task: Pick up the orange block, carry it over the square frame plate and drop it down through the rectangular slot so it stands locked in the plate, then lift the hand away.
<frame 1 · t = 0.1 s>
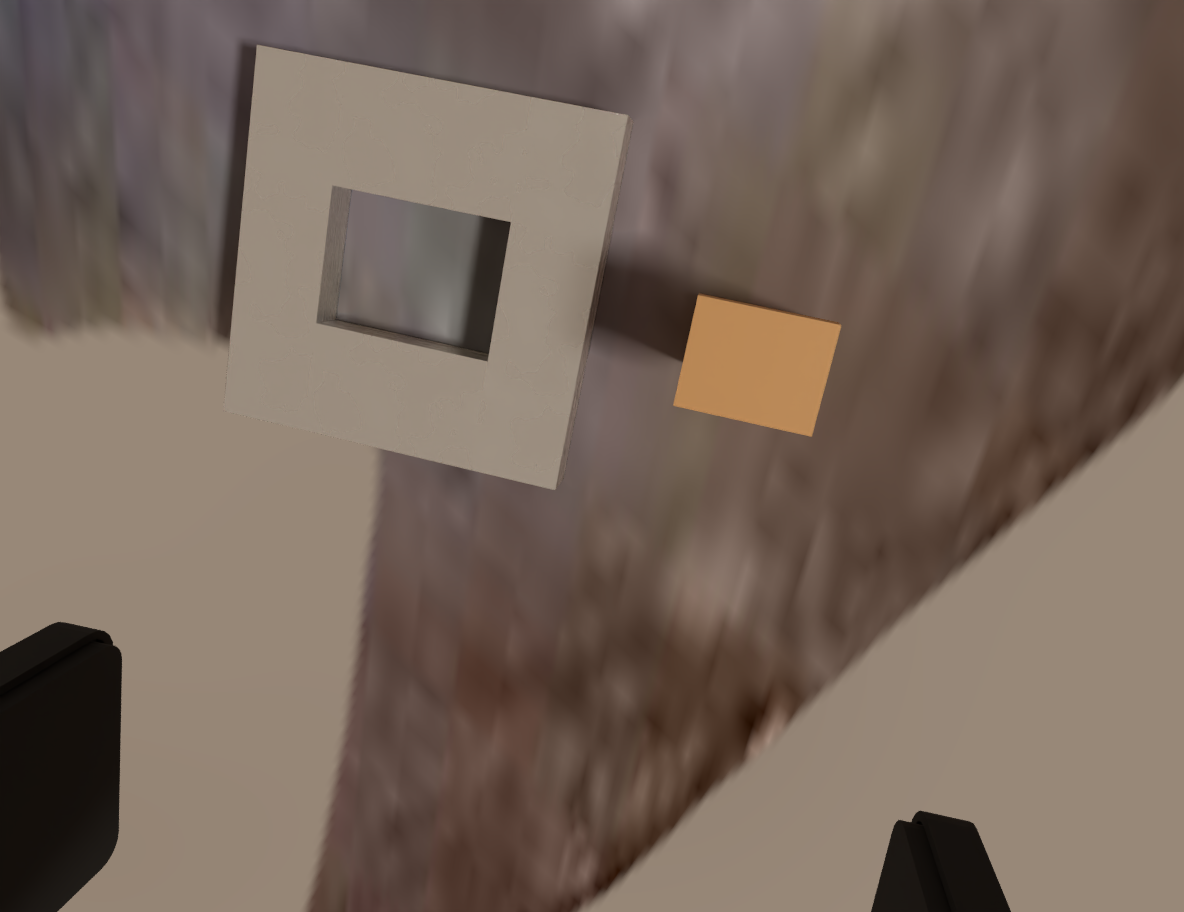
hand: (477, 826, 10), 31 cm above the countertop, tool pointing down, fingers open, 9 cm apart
square frame plate: (426, 272, 41), on the countertop
orange block: (752, 342, 39), on the countertop
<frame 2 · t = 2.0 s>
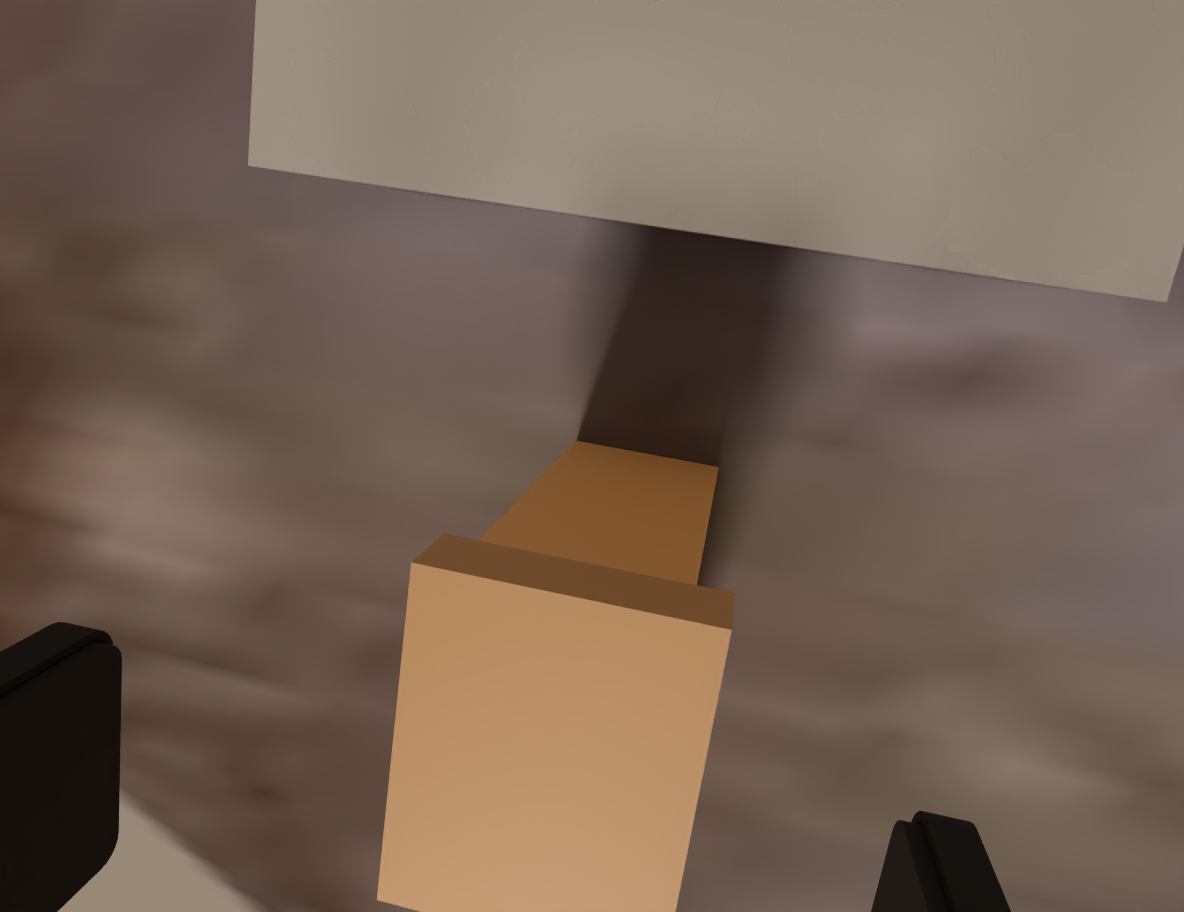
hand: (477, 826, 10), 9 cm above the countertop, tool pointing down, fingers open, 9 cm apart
orange block: (628, 565, 19), on the countertop
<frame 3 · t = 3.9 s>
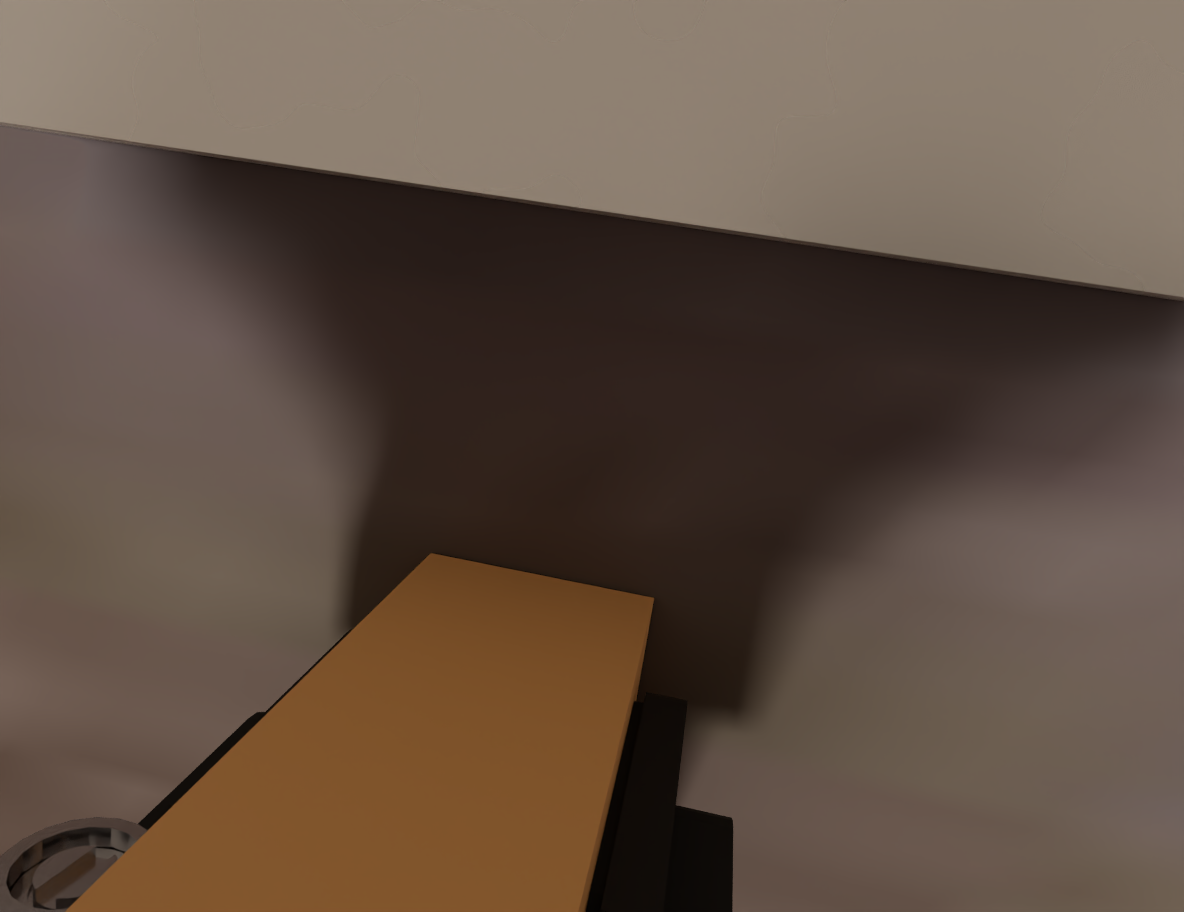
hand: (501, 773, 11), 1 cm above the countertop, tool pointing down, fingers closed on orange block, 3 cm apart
orange block: (516, 744, 12), on the countertop, touching gripper
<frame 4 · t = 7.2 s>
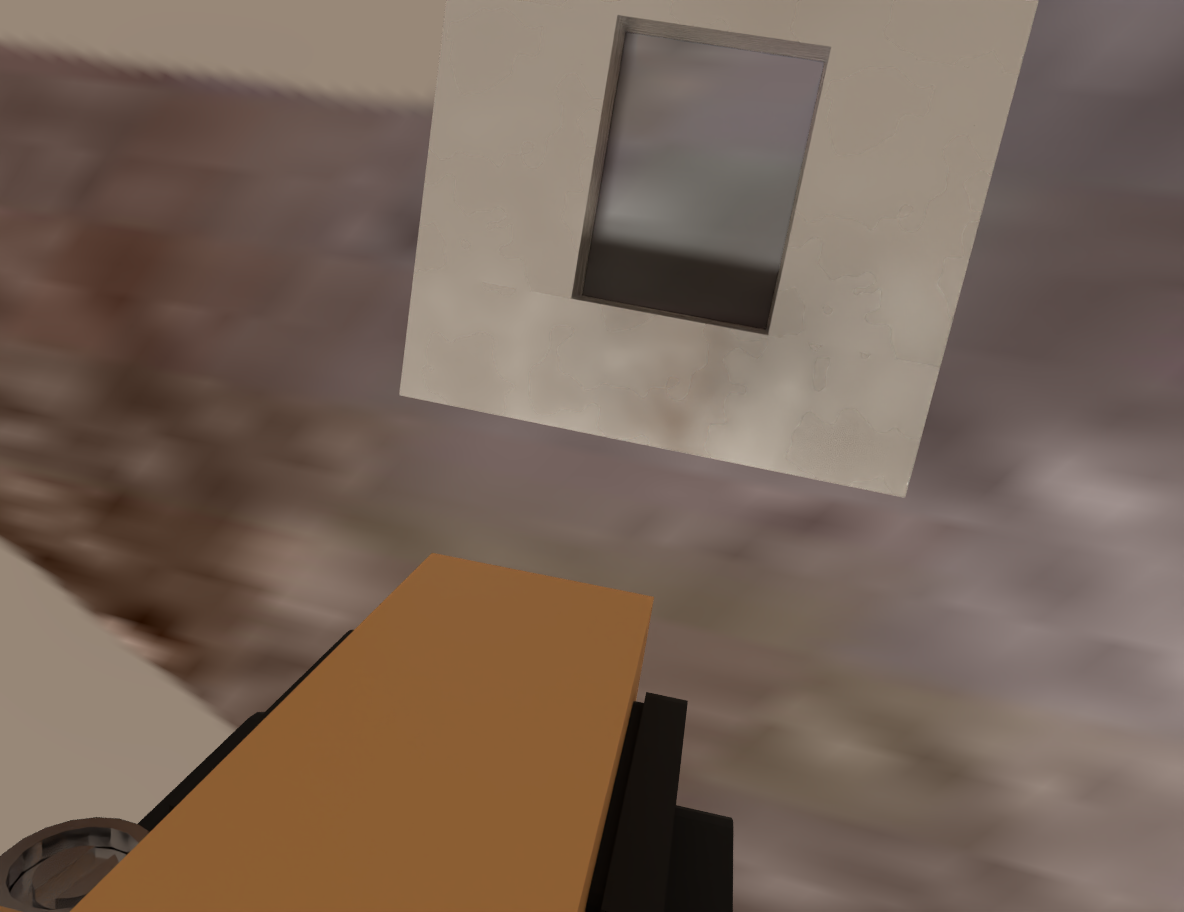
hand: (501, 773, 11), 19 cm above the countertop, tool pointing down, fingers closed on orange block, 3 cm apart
square frame plate: (697, 184, 28), on the countertop
orange block: (517, 742, 12), point 18 cm above the countertop, touching gripper
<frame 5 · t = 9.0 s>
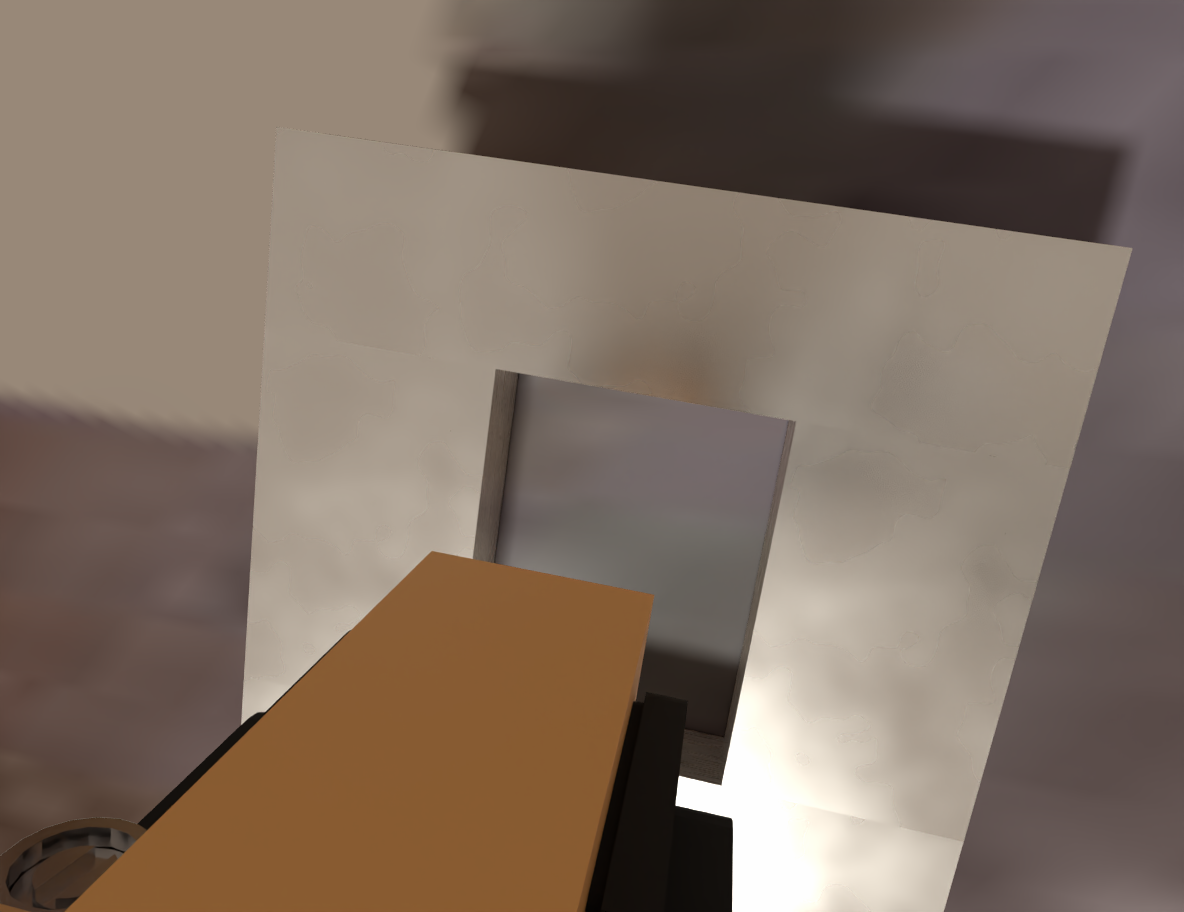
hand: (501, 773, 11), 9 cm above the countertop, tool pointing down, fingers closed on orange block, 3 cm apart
square frame plate: (625, 552, 20), on the countertop
orange block: (517, 740, 12), point 8 cm above the countertop, touching gripper
when the fingers open (2 cm above the countertop, at t = 10.6 s): orange block drops 1 cm, resting in square frame plate.
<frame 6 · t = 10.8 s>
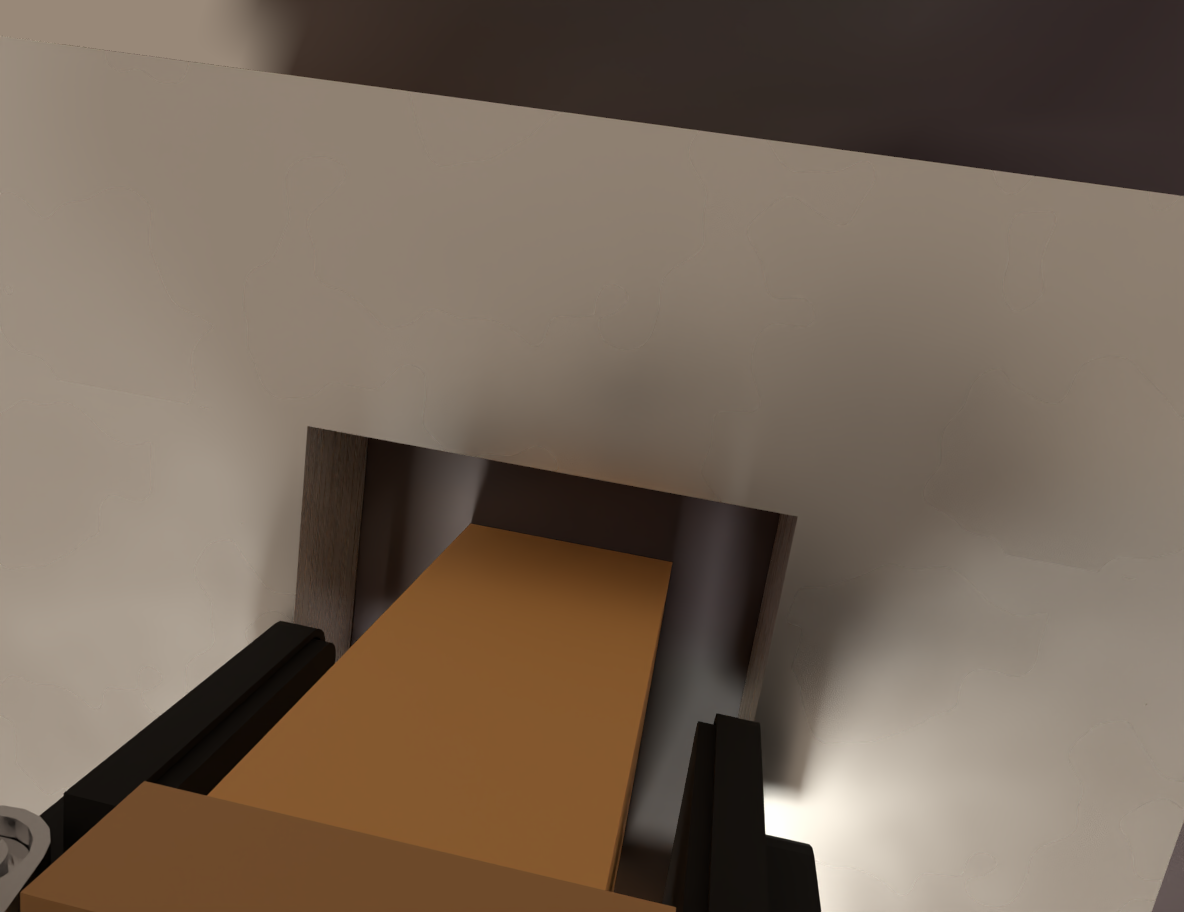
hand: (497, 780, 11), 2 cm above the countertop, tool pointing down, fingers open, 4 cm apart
square frame plate: (537, 691, 14), on the countertop
orange block: (547, 696, 14), resting in square frame plate
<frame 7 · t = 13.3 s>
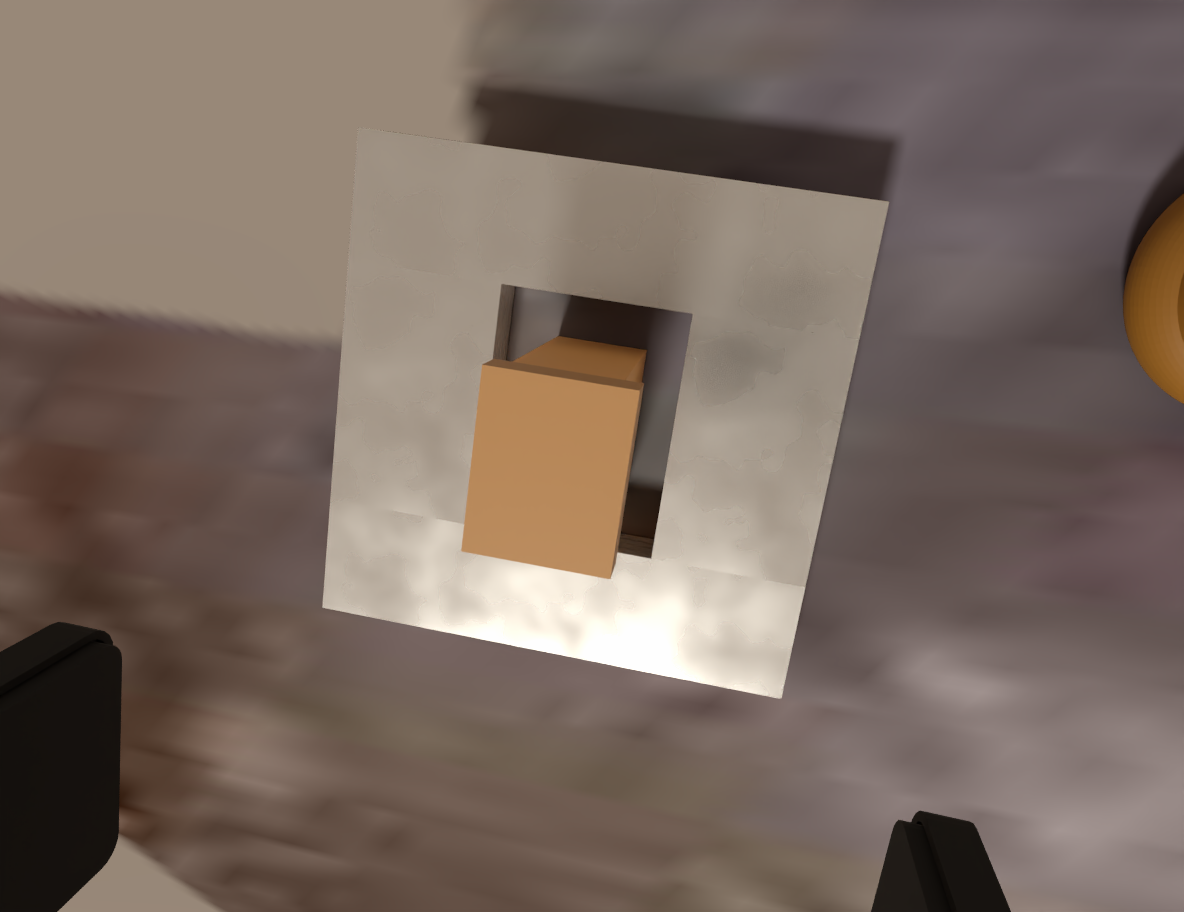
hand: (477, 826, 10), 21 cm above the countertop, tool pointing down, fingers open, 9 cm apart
square frame plate: (587, 413, 30), on the countertop
orange block: (591, 415, 30), resting in square frame plate
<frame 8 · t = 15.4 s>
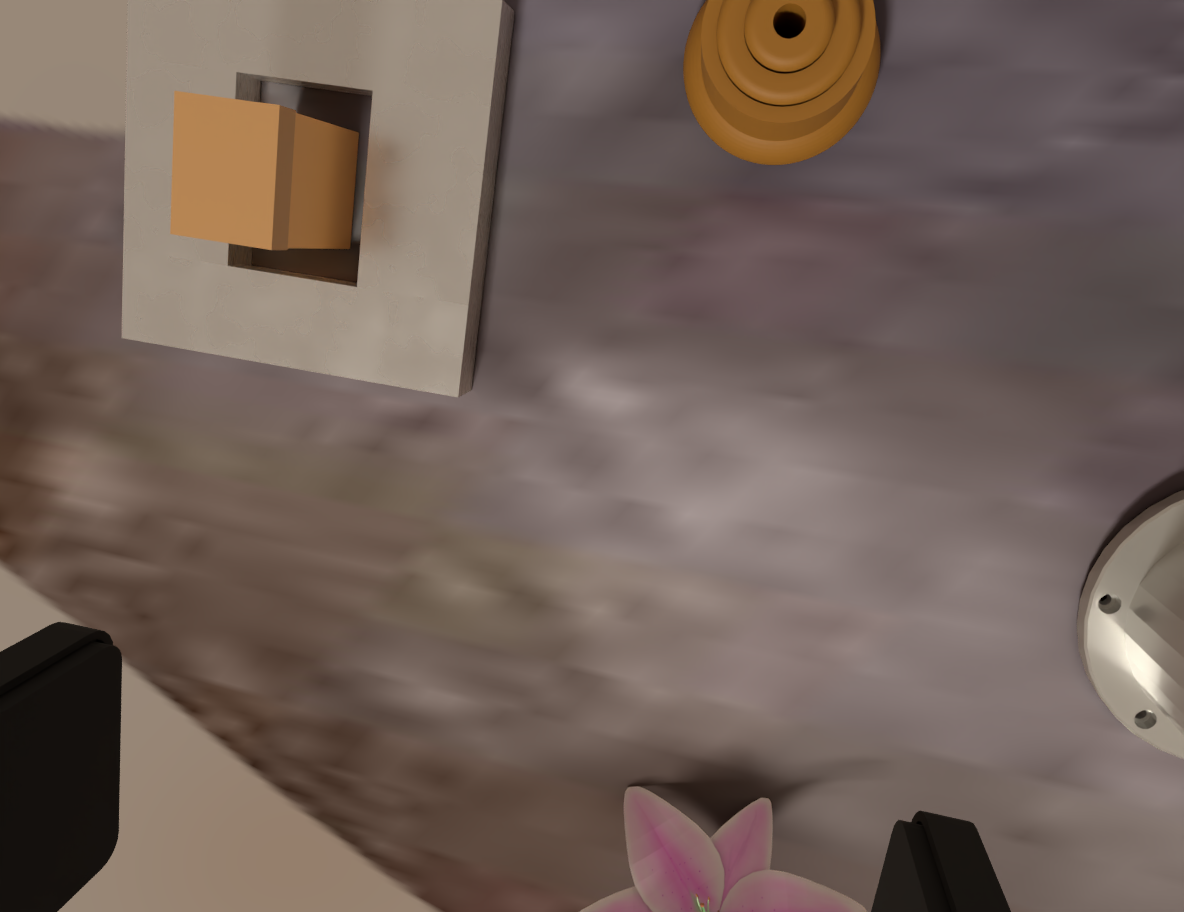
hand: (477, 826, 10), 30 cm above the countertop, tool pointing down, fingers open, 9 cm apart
square frame plate: (318, 184, 40), on the countertop
orange block: (322, 186, 40), resting in square frame plate
lily: (712, 853, 44), on the countertop
ornamental finial: (778, 71, 36), on the countertop
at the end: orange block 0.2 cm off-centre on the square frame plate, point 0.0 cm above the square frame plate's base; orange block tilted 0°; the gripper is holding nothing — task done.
